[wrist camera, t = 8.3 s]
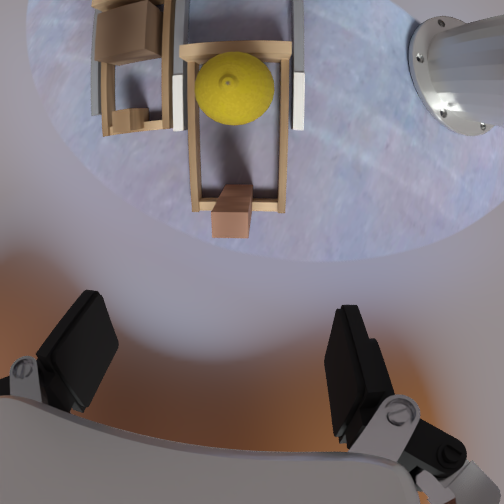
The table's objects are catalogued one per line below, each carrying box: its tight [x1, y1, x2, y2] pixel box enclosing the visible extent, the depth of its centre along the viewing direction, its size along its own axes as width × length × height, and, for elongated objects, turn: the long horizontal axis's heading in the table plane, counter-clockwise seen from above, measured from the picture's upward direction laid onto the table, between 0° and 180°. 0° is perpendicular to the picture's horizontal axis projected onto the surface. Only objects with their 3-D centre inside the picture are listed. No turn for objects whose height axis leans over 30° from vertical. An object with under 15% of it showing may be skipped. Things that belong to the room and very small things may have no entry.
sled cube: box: [91, 0, 176, 137], centre depth 18 cm, size 6×14×4 cm, turn 0°
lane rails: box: [173, 0, 305, 131], centre depth 19 cm, size 10×14×2 cm
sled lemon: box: [179, 40, 292, 238], centre depth 20 cm, size 8×14×8 cm, turn 0°
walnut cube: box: [94, 0, 164, 66], centre depth 17 cm, size 4×4×4 cm
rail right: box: [91, 9, 102, 116], centre depth 19 cm, size 1×11×2 cm, turn 0°
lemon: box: [194, 52, 274, 125], centre depth 18 cm, size 6×6×8 cm
